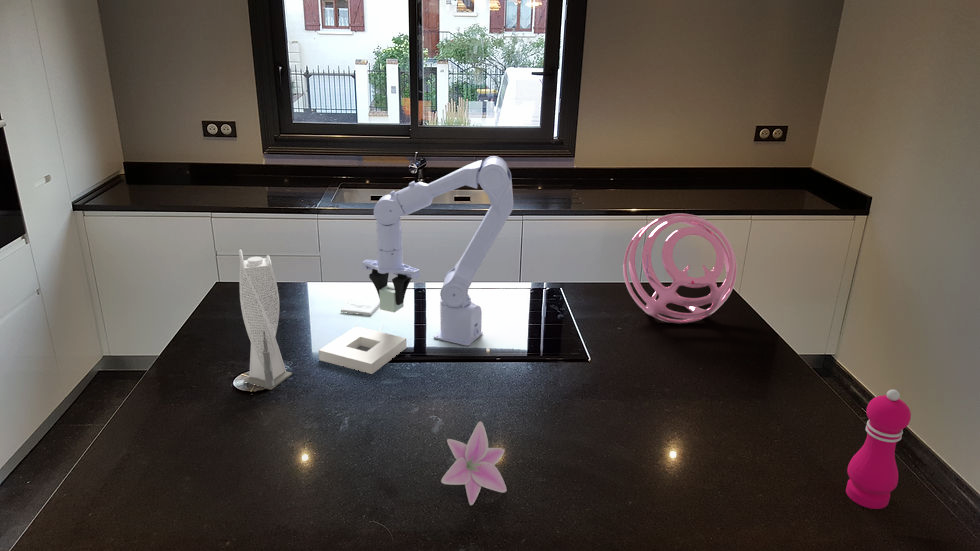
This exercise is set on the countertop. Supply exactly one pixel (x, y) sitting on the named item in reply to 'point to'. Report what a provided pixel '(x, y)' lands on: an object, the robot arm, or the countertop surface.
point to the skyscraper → (261, 321)
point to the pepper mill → (878, 452)
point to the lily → (475, 465)
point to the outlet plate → (362, 349)
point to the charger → (389, 299)
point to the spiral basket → (680, 277)
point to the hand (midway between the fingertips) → (391, 301)
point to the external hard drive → (363, 303)
